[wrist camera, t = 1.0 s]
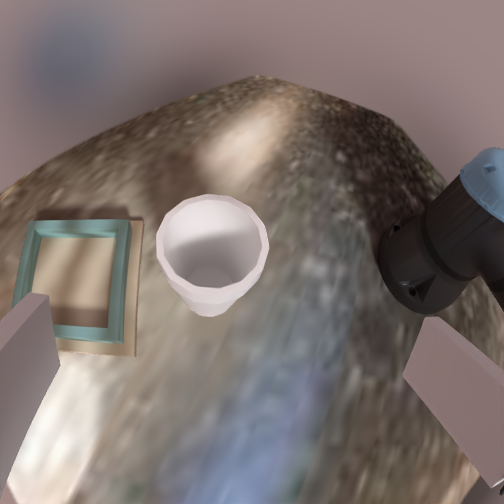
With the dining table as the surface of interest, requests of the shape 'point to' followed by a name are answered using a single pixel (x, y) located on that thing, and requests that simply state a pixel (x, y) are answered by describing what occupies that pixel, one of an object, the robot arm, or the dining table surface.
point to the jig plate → (85, 281)
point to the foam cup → (211, 251)
